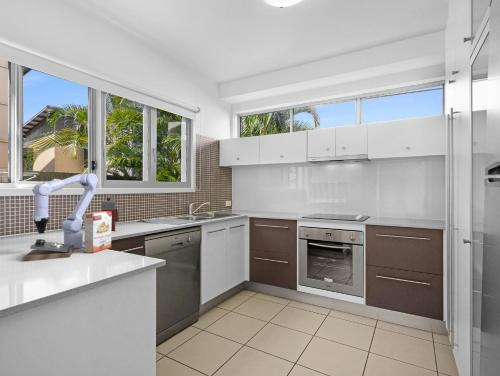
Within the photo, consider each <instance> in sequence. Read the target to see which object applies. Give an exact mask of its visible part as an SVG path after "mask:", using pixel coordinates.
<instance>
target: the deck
mask: <svg viewBox="0 0 500 376" xmlns="http://www.w3.org/2000/svg"><path fill="white" fill-rule="evenodd" d="M70 247H71V244H64V243H61V242H51V241H49V242H48V241H46V239H42V238H41V239H39V238H38V239H36V240H35V242H34V243H33V244H31V245H30V250H37V249H39V250H50V251H61V252H67V251H68V250H69V249H70Z"/></svg>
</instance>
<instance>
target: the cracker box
mask: <svg viewBox="0 0 500 376" xmlns="http://www.w3.org/2000/svg"><path fill="white" fill-rule="evenodd" d="M111 223H112V212H110V211H102V210H101V211H96V212H94V211H93V212H87V213H85V212H84V233H83V241H84V244H83V248H84V250H83V251H84V253H88V254H93V253H94V254H95V253H97V252H101V251H104V250H107V249H110V248H112V232H111Z"/></svg>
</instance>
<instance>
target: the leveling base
mask: <svg viewBox="0 0 500 376" xmlns="http://www.w3.org/2000/svg"><path fill="white" fill-rule="evenodd" d="M74 250H75V248H74V245H72V246H71V247H70V249H69V250H68V251H67V252H61V251H50V250H39V249H31V250H30V251H29V252H28V253H27V254H26V255H24V256H23V262H30V261H31V262H33V261H43V260H54V259H55V260H56V259H65V258H70V257H71V256H72V254H73V252H74Z"/></svg>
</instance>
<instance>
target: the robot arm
mask: <svg viewBox="0 0 500 376" xmlns="http://www.w3.org/2000/svg"><path fill="white" fill-rule="evenodd" d="M74 183H79V184H80V185H81V186H82V188H83V189H84V192H82V195H81V197H80V199H79V200H78V202H77V204H76V206H75V207H74V209H73V210H72V213H71V214H70V215H68V216H67V217H66V219H64V220H63V221H62V222H61V224H60V227H61V229H62V230H63V244H71V246H72V245H74V249H82V248H84V232H83V231H80V230H82V227H83V226H82V225H83V222H84V220H83V216H84V215H85V212H86V210H87V208H88V207H89V205H90V203H91V201H92V200H93V198H94V196H95V193H97V186H98V185H97V184H98V183H99V179H98V176H97V175H96V174H95V173H80V174H75V175H72V176H69V177H67V178H64V179H59V178H52V180H50V181H43V182H42V183H41V184H40V183H38V184H36V185H35V186H33V188H32V190H31V191H32V194H34V215H31V218H35V219H34V220H33V222H34V224H35V226H36V229H37V232H38V233H37V234H41V235H42V234H45V231H46V227H47V225H48V222H49V220H50V219H49V217H50V215H49V201H50V200H49V199H50V198H49V197H50V196H49V195H51V193H53V192H58V191H60V190H62V189H64V187H65V186H68V185H71V184H74Z"/></svg>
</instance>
